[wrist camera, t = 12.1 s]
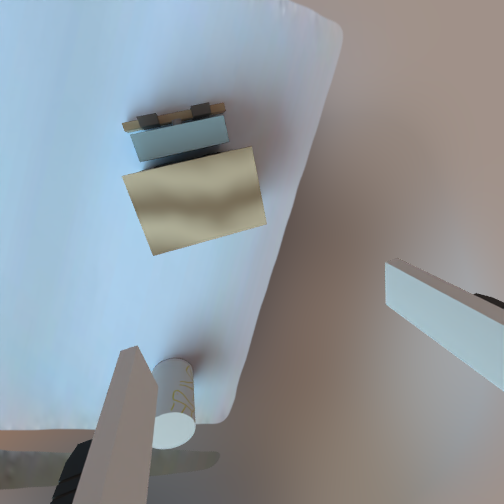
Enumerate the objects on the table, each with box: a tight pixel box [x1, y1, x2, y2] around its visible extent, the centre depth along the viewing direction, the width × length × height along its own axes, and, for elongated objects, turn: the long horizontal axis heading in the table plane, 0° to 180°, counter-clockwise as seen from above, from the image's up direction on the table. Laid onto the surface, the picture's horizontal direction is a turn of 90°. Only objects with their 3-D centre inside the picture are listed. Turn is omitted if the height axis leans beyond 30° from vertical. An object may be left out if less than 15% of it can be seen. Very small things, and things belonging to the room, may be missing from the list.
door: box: [130, 115, 229, 162], centre depth 35 cm, size 4×11×9 cm, turn 102°
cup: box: [152, 358, 195, 449], centre depth 48 cm, size 8×8×12 cm
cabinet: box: [122, 103, 267, 256], centre depth 35 cm, size 16×14×13 cm
